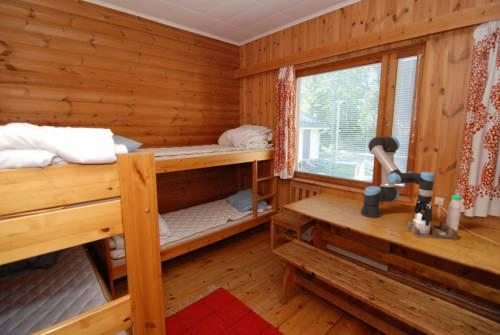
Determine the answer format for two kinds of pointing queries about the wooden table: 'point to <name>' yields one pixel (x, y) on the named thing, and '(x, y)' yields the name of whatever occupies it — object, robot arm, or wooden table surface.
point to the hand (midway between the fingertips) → (421, 225)
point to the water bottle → (454, 212)
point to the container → (421, 223)
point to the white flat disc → (441, 232)
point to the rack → (433, 231)
